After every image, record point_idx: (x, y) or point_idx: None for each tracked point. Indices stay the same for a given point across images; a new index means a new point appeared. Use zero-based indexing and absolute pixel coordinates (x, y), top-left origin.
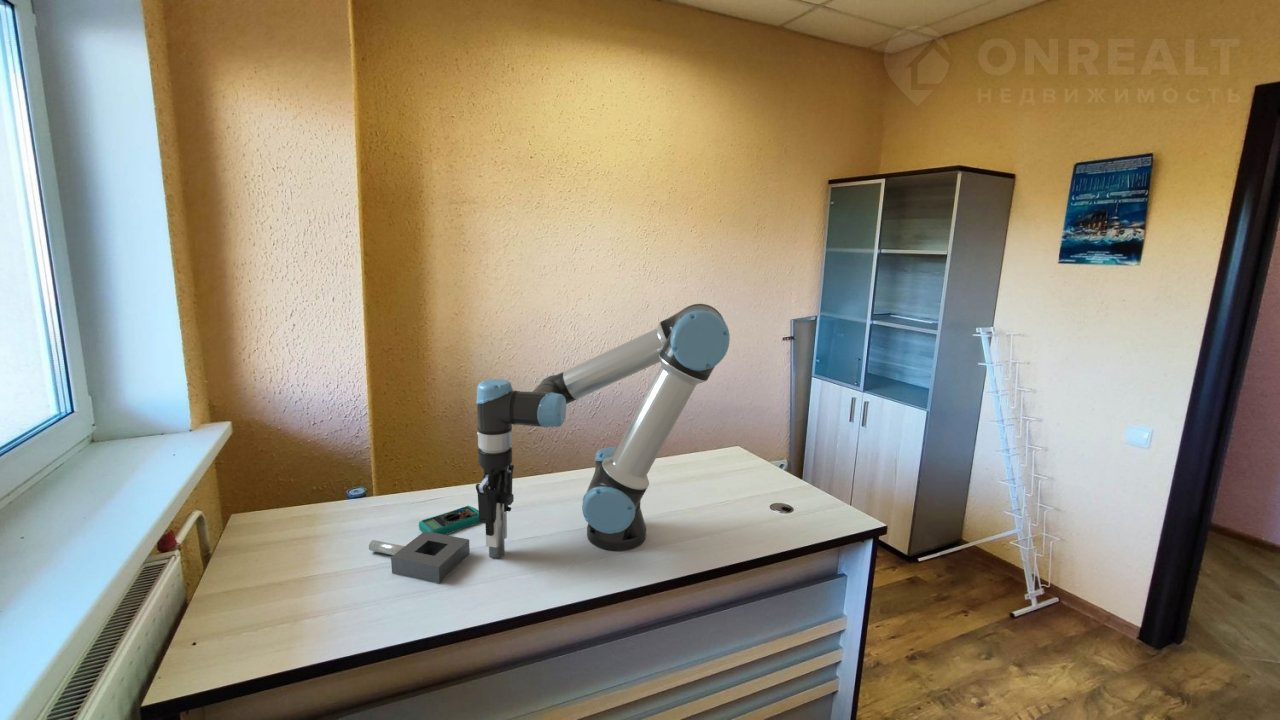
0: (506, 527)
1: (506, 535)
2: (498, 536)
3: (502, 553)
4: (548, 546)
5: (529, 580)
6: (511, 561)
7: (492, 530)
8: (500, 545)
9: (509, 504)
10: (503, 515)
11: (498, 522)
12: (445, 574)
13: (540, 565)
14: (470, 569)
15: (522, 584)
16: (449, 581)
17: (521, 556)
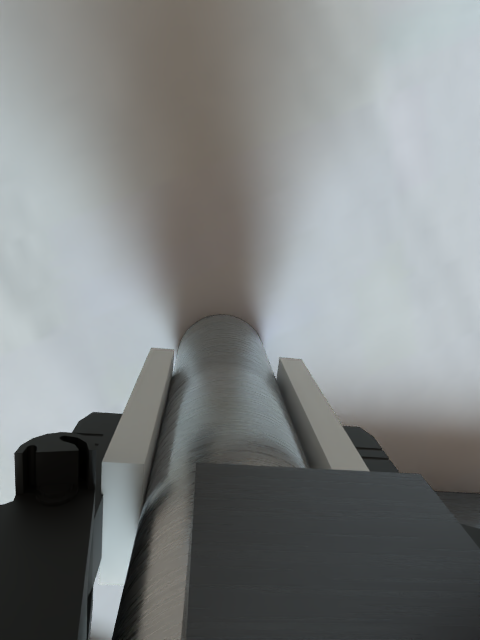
0: (144, 379)
1: (156, 354)
2: (275, 386)
3: (237, 323)
4: (32, 73)
5: (431, 70)
6: (262, 252)
7: (358, 450)
8: (255, 348)
9: (415, 488)
10: (238, 459)
11: (298, 453)
12: (462, 503)
13: (267, 53)
14: (372, 423)
15: (472, 99)
16: (476, 464)
17: (198, 214)
